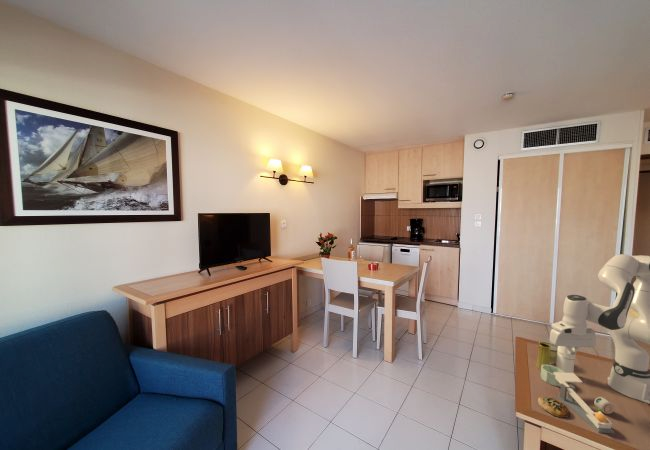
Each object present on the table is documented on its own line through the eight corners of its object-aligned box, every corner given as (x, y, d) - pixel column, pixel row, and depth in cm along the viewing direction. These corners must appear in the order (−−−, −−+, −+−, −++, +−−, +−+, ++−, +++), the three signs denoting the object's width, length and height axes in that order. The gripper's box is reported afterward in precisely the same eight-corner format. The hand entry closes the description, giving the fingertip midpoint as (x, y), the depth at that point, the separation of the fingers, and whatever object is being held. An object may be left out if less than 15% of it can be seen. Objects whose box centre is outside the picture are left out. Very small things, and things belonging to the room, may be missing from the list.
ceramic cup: (550, 367, 150) (552, 350, 149) (533, 357, 159) (534, 342, 159) (566, 364, 153) (567, 348, 152) (548, 355, 163) (549, 340, 162)
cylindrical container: (561, 369, 148) (564, 328, 146) (576, 377, 141) (579, 334, 139) (552, 371, 146) (555, 329, 144) (567, 379, 139) (570, 335, 137)
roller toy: (591, 407, 119) (592, 395, 119) (605, 407, 119) (606, 395, 119) (601, 414, 115) (602, 402, 114) (615, 415, 115) (616, 403, 114)
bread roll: (571, 410, 117) (571, 400, 116) (566, 425, 110) (566, 415, 110) (540, 396, 126) (540, 387, 125) (534, 410, 119) (534, 400, 118)
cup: (553, 375, 142) (554, 365, 142) (569, 387, 133) (570, 376, 132) (536, 374, 142) (536, 364, 142) (551, 386, 133) (551, 375, 132)
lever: (547, 373, 130) (549, 369, 129) (572, 374, 130) (574, 370, 129) (597, 428, 106) (600, 423, 105) (628, 429, 106) (631, 425, 105)
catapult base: (556, 396, 125) (557, 381, 125) (568, 397, 125) (569, 382, 125) (598, 432, 105) (600, 414, 105) (613, 432, 105) (615, 414, 105)
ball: (599, 418, 109) (601, 411, 109) (608, 425, 106) (610, 418, 105) (591, 417, 109) (593, 410, 109) (600, 425, 106) (601, 418, 105)
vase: (552, 372, 145) (554, 348, 144) (540, 370, 146) (541, 347, 145) (545, 365, 151) (546, 343, 150) (533, 364, 152) (535, 341, 151)
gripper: (588, 325, 129) (586, 351, 130) (548, 324, 129) (546, 349, 130) (601, 331, 123) (599, 358, 123) (559, 329, 123) (557, 356, 124)
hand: (571, 354), depth 127 cm, fingers closed
